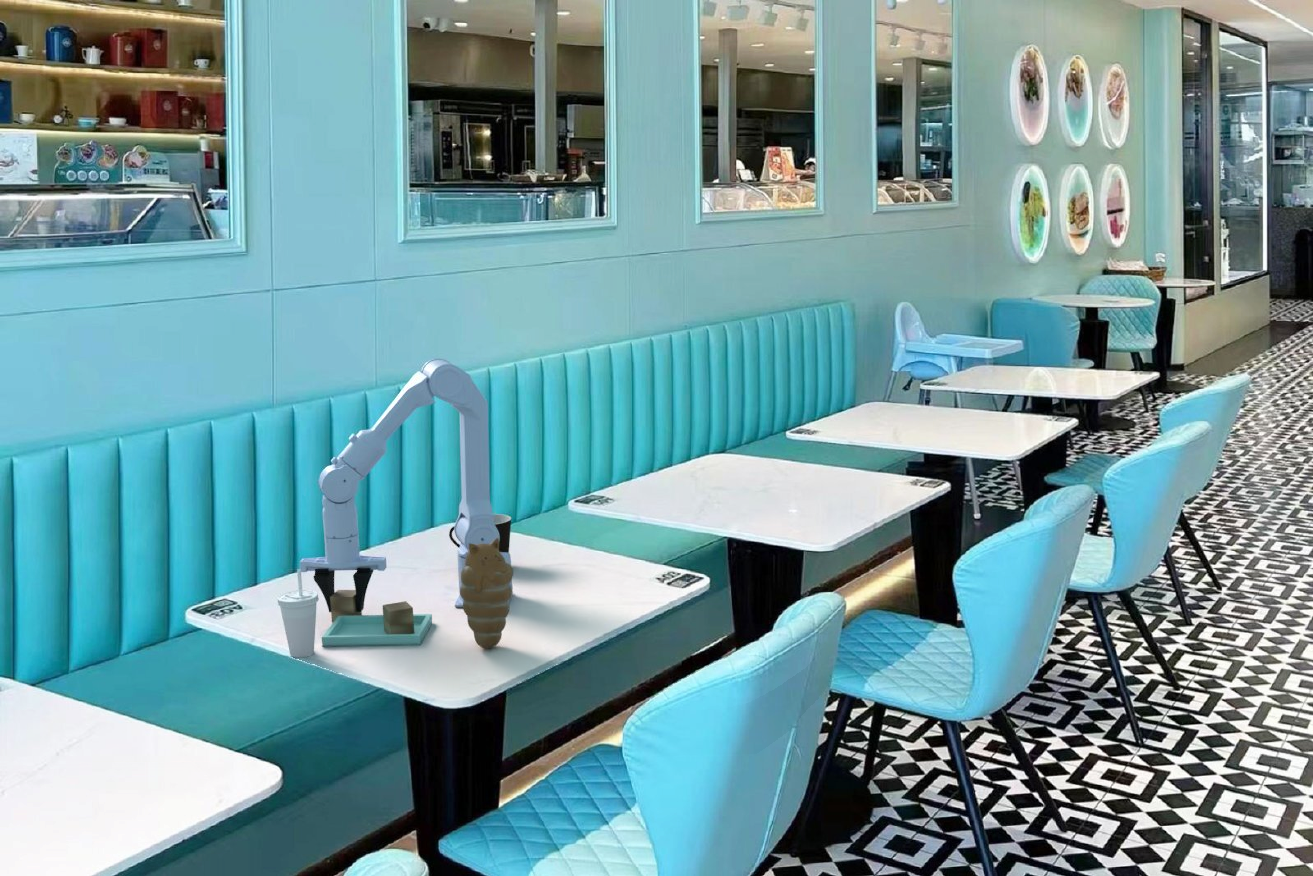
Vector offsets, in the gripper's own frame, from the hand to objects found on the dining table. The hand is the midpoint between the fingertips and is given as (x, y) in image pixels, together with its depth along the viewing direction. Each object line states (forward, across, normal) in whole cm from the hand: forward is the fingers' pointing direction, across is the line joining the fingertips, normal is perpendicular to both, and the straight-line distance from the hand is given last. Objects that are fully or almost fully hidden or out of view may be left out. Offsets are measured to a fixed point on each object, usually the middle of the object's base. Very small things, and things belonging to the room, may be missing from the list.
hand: (346, 610), depth 229 cm
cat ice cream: (+2, -27, +16) cm, 32 cm away
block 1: (+1, 0, 0) cm, 1 cm away
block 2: (+1, -11, +9) cm, 14 cm away
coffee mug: (+2, -20, -30) cm, 36 cm away
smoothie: (+2, +3, +18) cm, 18 cm away
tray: (+1, -8, +9) cm, 12 cm away
